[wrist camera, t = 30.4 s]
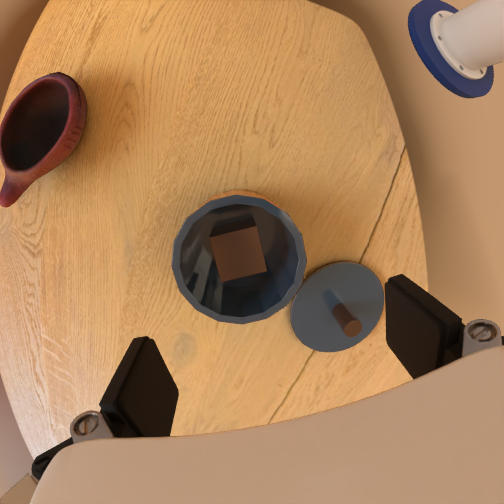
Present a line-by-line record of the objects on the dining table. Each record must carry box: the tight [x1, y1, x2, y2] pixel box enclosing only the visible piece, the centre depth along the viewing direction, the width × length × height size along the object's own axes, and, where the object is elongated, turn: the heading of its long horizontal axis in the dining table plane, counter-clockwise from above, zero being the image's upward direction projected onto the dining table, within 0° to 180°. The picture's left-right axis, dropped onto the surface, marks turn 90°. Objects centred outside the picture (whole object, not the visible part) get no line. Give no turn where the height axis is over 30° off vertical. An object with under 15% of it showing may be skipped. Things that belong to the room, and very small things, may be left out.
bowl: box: [0, 72, 87, 207], centre depth 26 cm, size 16×13×8 cm
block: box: [209, 218, 267, 282], centre depth 32 cm, size 5×5×5 cm
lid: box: [290, 261, 384, 352], centre depth 35 cm, size 14×14×6 cm
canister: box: [172, 190, 307, 324], centre depth 31 cm, size 13×13×8 cm
